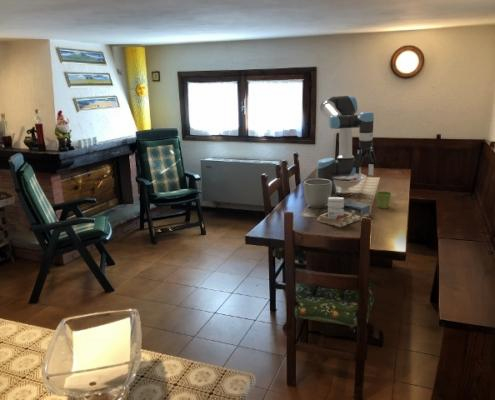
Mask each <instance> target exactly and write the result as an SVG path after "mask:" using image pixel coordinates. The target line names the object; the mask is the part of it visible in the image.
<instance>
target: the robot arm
mask: <svg viewBox="0 0 495 400" xmlns="http://www.w3.org/2000/svg"><path fill="white" fill-rule="evenodd" d="M319 108H320V112H321V113H322V115H324V116H326V117H327V118H328V126H329V129H331V130H333V129H335V130H338V143H339V144H338V146H339V147H338V156H337V157H336V159H335V158H334V157H326V158H325V157H324V158H322V159H319V160H318V161H317V165H316V179H328V180H331V181H332V192H331V195H334V194H337V192H338V191H337V186H336V182H335V178H342V177H343V178H345V177H346V178H348V177H353V176H355V179H356V180H361V171H362V167H361V166H362V164H363V161H364V159H365V158H367V160H368V162H369V164H368V174H367V175H368V176H374V166H375V165H376V164H377V159H376V154H375V147H373V146H374V145H373V143H374V142H373V138H374V137H373V136H374V121H375V117H374V112H372V111H362V112H360V113H358V114H357V112H358V102H357V99H356V97H355V96H354V95H339V96H338V95H337V96H329V97H326V98H325V99H324V100H323V101H322V102H321V103H320V107H319ZM356 128H357V129H359V130H358V131H359V134H358V140H359V141H358V147H359V148H360V149H357V150H356V155H355V156H354V155H353V129H356Z"/></svg>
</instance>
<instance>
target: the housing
mask: <svg viewBox="0 0 495 400" xmlns="http://www.w3.org/2000/svg"><path fill="white" fill-rule="evenodd" d="M346 208H352V209H357V210H361V215H364V214H366V213H369V212H370V211H371V204H368V203H365V202H364V203H363V202H357V201H354V200H349V199H347V200H344V209H346ZM370 213H371V212H370Z"/></svg>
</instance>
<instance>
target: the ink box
mask: <svg viewBox="0 0 495 400" xmlns="http://www.w3.org/2000/svg"><path fill="white" fill-rule="evenodd" d="M344 201H345V197H339V196H331V197H328V204H327V213H328V217H329V218H333V219H337V220H339V219H341V218H344Z"/></svg>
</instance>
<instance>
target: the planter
mask: <svg viewBox="0 0 495 400" xmlns="http://www.w3.org/2000/svg"><path fill="white" fill-rule="evenodd" d="M331 192H332V181H331V180H328V179H317V178H309V179H306V180H304V181H303V194H304V195H303V196H304V200H305V202H306V204H307V205H309V207H310V208H312V209H315V210H317V209H318V210H319V209H324V208H325V207H326V206H328V197H332V194H331Z"/></svg>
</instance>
